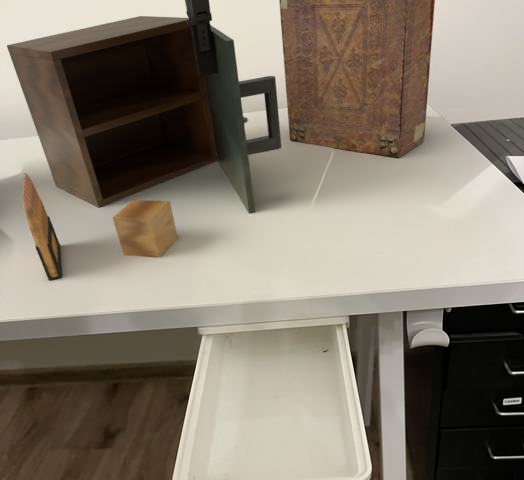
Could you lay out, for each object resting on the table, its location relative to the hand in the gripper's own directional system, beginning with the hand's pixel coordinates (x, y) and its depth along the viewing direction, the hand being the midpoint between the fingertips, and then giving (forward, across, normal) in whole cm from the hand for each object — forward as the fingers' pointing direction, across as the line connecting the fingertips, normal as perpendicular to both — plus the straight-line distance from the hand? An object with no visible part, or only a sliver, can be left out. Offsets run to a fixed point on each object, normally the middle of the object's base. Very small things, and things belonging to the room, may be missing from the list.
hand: (207, 73), depth 83 cm
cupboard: (+19, +18, +15) cm, 30 cm away
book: (+19, +13, -28) cm, 36 cm away
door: (+19, +2, -5) cm, 19 cm away
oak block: (+19, -16, +14) cm, 28 cm away
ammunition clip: (+19, -14, +28) cm, 37 cm away
